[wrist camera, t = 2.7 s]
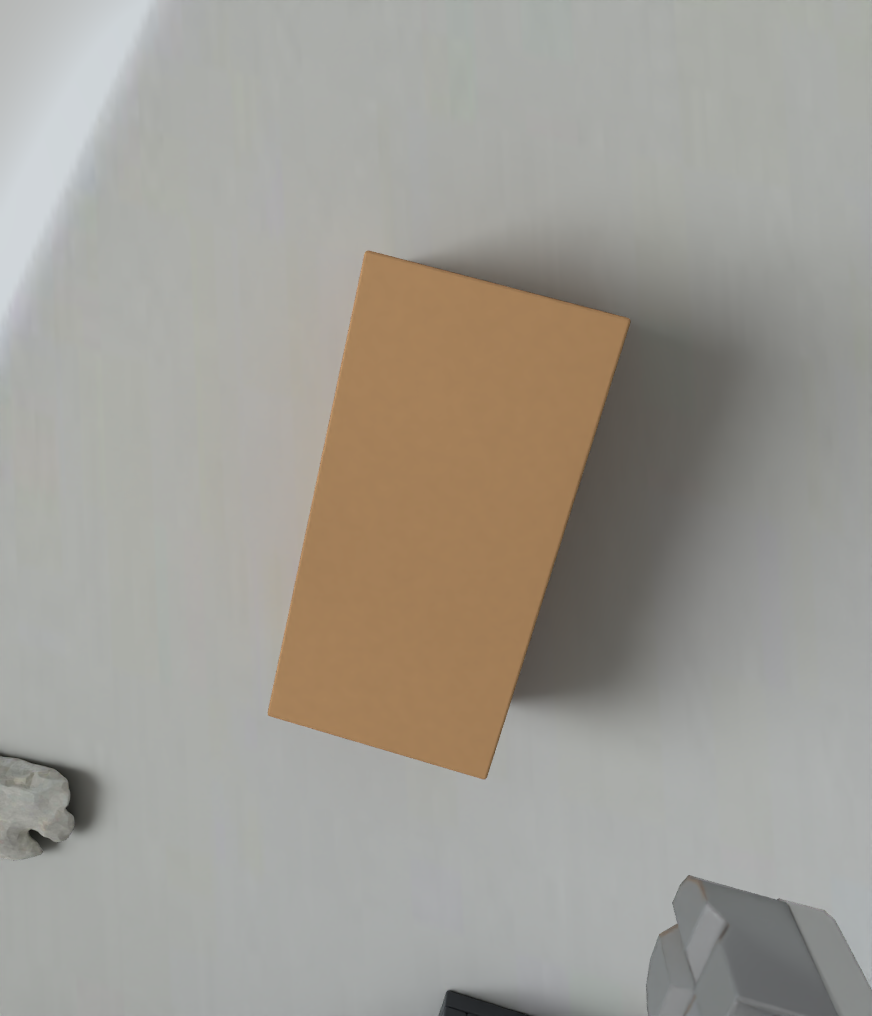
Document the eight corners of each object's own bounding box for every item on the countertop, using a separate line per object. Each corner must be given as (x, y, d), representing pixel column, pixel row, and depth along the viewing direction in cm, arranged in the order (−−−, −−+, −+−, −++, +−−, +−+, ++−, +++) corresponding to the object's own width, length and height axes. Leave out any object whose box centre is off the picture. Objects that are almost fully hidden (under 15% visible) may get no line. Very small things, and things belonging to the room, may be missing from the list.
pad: (612, 317, 20) (631, 318, 16) (493, 703, 23) (486, 781, 19) (396, 261, 20) (364, 249, 16) (309, 650, 23) (266, 716, 20)
